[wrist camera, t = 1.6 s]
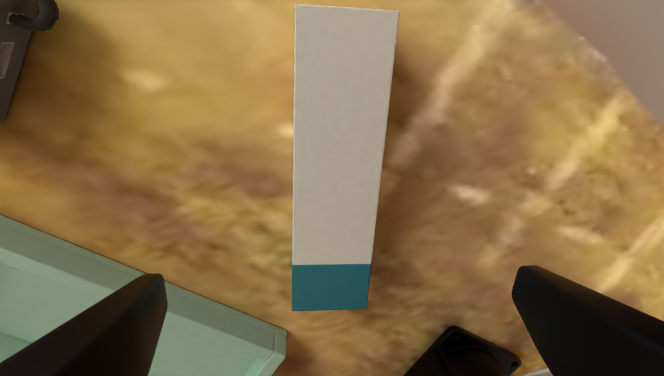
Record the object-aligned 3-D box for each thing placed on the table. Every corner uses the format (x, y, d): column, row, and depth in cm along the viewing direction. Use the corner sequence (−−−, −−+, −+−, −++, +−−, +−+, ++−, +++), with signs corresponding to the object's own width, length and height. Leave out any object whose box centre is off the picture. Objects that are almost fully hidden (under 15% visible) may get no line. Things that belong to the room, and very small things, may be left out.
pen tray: (287, 330, 22) (286, 356, 20) (230, 407, 24) (225, 437, 22) (-38, 198, 17) (-78, 218, 15) (-74, 311, 19) (-114, 340, 17)
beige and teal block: (294, 11, 15) (294, 3, 12) (377, 16, 15) (400, 10, 12) (292, 266, 20) (291, 311, 17) (354, 265, 20) (366, 309, 17)
